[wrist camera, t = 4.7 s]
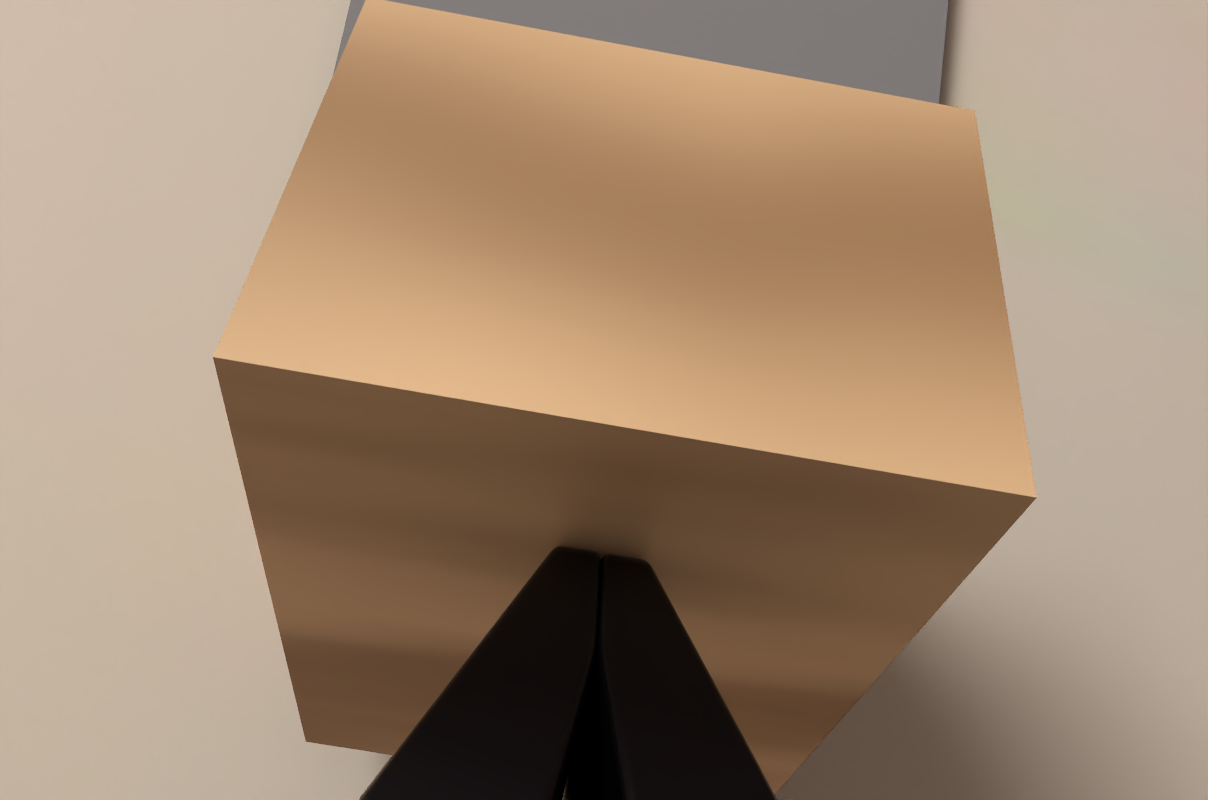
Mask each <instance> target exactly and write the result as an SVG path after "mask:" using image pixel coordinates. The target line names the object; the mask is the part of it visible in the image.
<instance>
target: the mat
mask: <svg viewBox="0 0 1208 800" xmlns="http://www.w3.org/2000/svg"><path fill="white" fill-rule="evenodd" d="M386 1H391V2H396V3H402V4H407V5H413V6H418V7H423V8H429V9H434V10H439V11H445V12H450V13H455V14H461V15H466V16H471V17H477V18H482V19H487V20H493V21H498V22H503V23H509V24H514V25H519V26H525V27H530V28H536V29H541V30H546V31H552V32H557V33H562V34H568V35H573V36H578V37H584V38H589V39H594V40H600V41H605V42H610V43H616V44H621V45H626V46H632V47H637V48H642V49H648V50H653V51H659V52H664V53H669V54H675V55H680V56H685V57H691V58H696V59H701V60H707V61H712V62H717V63H723V64H728V65H733V66H739V67H744V68H749V69H755V70H760V71H766V72H771V73H776V74H782V75H787V76H792V77H798V78H803V79H808V80H814V81H819V82H824V83H830V84H835V85H840V86H846V87H851V88H856V89H862V90H867V91H872V92H878V93H883V94H889V95H894V96H899V97H905V98H910V99H915V100H921V101H926V102H931V103H937V104H939V97H940V86H941V75H942V65H943V54H944V43H945V32H946V22H947V11H948V0H386ZM364 2H365V0H351V2H350V6H349V11H348V15H347V19H346V23H345V28H344V32H343V36H342V40H341V44H340V49H339V53H338V57H337V61H336V66H335V70H336V68H337V66H338V63H339V61H340V59H341V56H342V54H343V52H344V49H345V47H346V45H347V42H348V40H349V38H350V35H351V33H352V31H353V28H354V26H355V24H356V21H357V19H358V17H359V14H360V12H361V10H362V7H363V5H364ZM335 70H334V73H335ZM333 75H334V74H333Z"/></svg>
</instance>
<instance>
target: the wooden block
mask: <svg viewBox="0 0 1208 800" xmlns="http://www.w3.org/2000/svg"><path fill="white" fill-rule="evenodd" d="M213 359H214V363H215V367H216V371H217V375H218V379H219V384H220V388H221V392H222V396H223V400H224V404H225V408H226V413H227V417H228V421H229V425H230V429H231V433H232V437H233V441H234V446H235V450H236V454H237V458H238V462H239V466H240V470H241V475H242V479H243V483H244V487H245V491H246V495H247V499H248V504H249V508H250V512H251V516H252V520H253V524H254V528H255V532H256V537H257V541H258V545H259V549H260V553H261V557H262V561H263V566H264V570H265V574H266V578H267V582H268V586H269V590H270V594H271V599H272V603H273V607H274V611H275V615H276V619H277V623H278V628H279V632H280V636H281V640H282V644H283V648H284V652H285V657H286V661H287V665H288V669H289V673H290V677H291V681H292V685H293V690H294V694H295V698H296V702H297V706H298V710H299V714H300V719H301V723H302V727H303V731H304V735H305V739H306V742H312V743H319V744H325V745H332V746H338V747H345V748H351V749H358V750H364V751H370V752H377V753H383V754H390V755H393V754H394V753H395V752H396V750H397V749H398V748H399V746H400V745H401V744H402V743H403V741H404V740H405V739H406V737H407V736H408V735H409V734H410V732H411V731H412V730H413V728H414V727H415V726H416V725H417V723H418V722H419V721H420V719H421V718H422V717H423V715H424V714H425V713H426V712H427V710H428V709H429V708H430V706H431V705H432V704H433V703H434V701H435V700H436V699H437V697H438V696H439V695H440V694H441V692H442V691H443V690H444V688H445V687H446V686H447V684H448V683H449V682H450V681H451V679H452V678H453V677H454V675H455V674H456V673H457V672H458V670H459V669H460V668H461V666H462V665H463V664H464V663H465V661H466V660H467V659H468V657H469V656H470V655H471V654H472V652H473V651H474V650H475V648H476V647H477V646H478V644H479V643H480V642H481V641H482V639H483V638H484V637H485V635H486V634H487V633H488V632H489V630H490V629H491V628H492V626H493V625H494V624H495V623H496V621H497V620H498V619H499V617H500V616H501V615H502V613H503V612H504V611H505V610H506V608H507V607H508V606H509V604H510V603H511V602H512V601H513V599H514V598H515V597H516V595H517V594H518V593H519V592H520V590H521V589H522V588H523V586H524V585H525V584H526V582H527V581H528V580H529V579H530V577H531V576H532V575H533V573H534V572H535V571H536V570H537V568H538V567H539V566H540V564H541V563H542V562H543V561H544V559H545V558H546V557H547V555H548V554H549V553H550V552H551V551H552V550H553V549H554V548H555V547H558V546H564V547H570V548H576V549H582V550H588V551H594V552H596V553H597V554H598V555H599V556H600V559H602V558H603V557H604V556H605V555H608V554H612V555H618V556H624V557H630V558H636V559H642V560H645V561H647V562H648V563H649V564H650V565H651V566H652V568H653V570H654V572H655V574H656V575H657V577H658V579H659V581H660V583H661V585H662V586H663V588H664V590H665V592H666V594H667V596H668V598H669V599H670V601H671V603H672V605H673V607H674V609H675V611H676V612H677V614H678V616H679V618H680V620H681V622H682V624H683V625H684V627H685V629H686V631H687V633H688V635H689V637H690V638H691V640H692V642H693V644H694V646H695V648H696V650H697V651H698V653H699V655H700V657H701V659H702V661H703V662H704V664H705V666H706V668H707V670H708V672H709V674H710V675H711V677H712V679H713V681H714V683H715V685H716V687H717V688H718V690H719V692H720V694H721V696H722V698H723V700H724V701H725V703H726V705H727V707H728V709H729V711H730V713H731V714H732V716H733V718H734V720H735V722H736V724H737V726H738V727H739V729H740V731H741V733H742V735H743V737H744V738H745V740H746V742H747V744H748V746H749V748H750V750H751V751H752V753H753V755H754V757H755V759H756V761H757V763H758V764H759V766H760V768H761V770H762V772H763V774H764V776H765V777H766V779H767V781H768V783H769V785H770V787H771V789H772V790H773V792H774V794H776V793H777V791H778V790H779V789H780V788H781V787H782V786H783V785H784V783H785V782H786V781H787V780H788V779H789V778H790V777H791V776H792V774H793V773H794V772H795V771H796V770H797V769H798V768H799V766H800V765H801V764H802V763H803V762H804V761H805V760H806V759H807V757H808V756H809V755H810V754H811V753H812V752H813V751H814V749H815V748H816V747H817V746H818V745H819V744H820V743H821V742H822V740H823V739H824V738H825V737H826V736H827V735H828V734H829V732H830V731H831V730H832V729H833V728H834V727H835V726H836V725H837V723H838V722H839V721H840V720H841V719H842V718H843V717H844V715H845V714H846V713H847V712H848V711H849V710H850V709H851V707H852V706H853V705H854V704H855V703H856V702H857V701H858V700H859V698H860V697H861V696H862V695H863V694H864V693H865V692H866V690H867V689H868V688H869V687H870V686H871V685H872V684H873V683H874V681H875V680H876V679H877V678H878V677H879V676H880V675H881V673H882V672H883V671H884V670H885V669H886V668H887V667H888V666H889V664H890V663H891V662H892V661H893V660H894V659H895V658H896V656H897V655H898V654H899V653H900V652H901V651H902V650H903V649H904V647H905V646H906V645H907V644H908V643H909V642H910V641H911V639H912V638H913V637H914V636H915V635H916V634H917V633H918V631H919V630H920V629H921V628H922V627H923V626H924V625H925V624H926V622H927V621H928V620H929V619H930V618H931V617H932V616H933V614H934V613H935V612H936V611H937V610H938V609H939V608H940V607H941V605H942V604H943V603H944V602H945V601H946V600H947V599H948V597H949V596H950V595H951V594H952V593H953V592H954V591H955V590H956V588H957V587H958V586H959V585H960V584H961V583H962V582H963V580H964V579H965V578H966V577H967V576H968V575H969V574H970V573H971V571H972V570H973V569H974V568H975V567H976V566H977V565H978V563H979V562H980V561H981V560H982V559H983V558H984V557H985V556H986V554H987V553H988V552H989V551H990V550H991V549H992V548H993V546H994V545H995V544H996V543H997V542H998V541H999V540H1000V538H1001V537H1002V536H1003V535H1004V534H1005V533H1006V532H1007V531H1008V529H1009V528H1010V527H1011V526H1012V525H1013V524H1014V523H1015V521H1016V520H1017V519H1018V518H1019V517H1020V516H1021V515H1022V514H1023V512H1024V511H1025V510H1026V509H1027V508H1028V507H1029V506H1030V504H1031V503H1032V502H1033V501H1034V500H1035V499H1036V498H1037V497H1036V491H1035V484H1034V478H1033V472H1032V466H1031V459H1030V453H1029V447H1028V441H1027V434H1026V428H1025V422H1024V416H1023V409H1022V403H1021V397H1020V391H1019V384H1018V378H1017V372H1016V365H1015V359H1014V353H1013V347H1012V340H1011V334H1010V328H1009V322H1008V315H1007V309H1006V303H1005V297H1004V290H1003V284H1002V278H1001V272H1000V265H999V259H998V253H997V247H996V240H995V234H994V228H993V222H992V215H991V209H990V203H989V197H988V190H987V184H986V178H985V171H984V165H983V159H982V153H981V146H980V140H979V134H978V128H977V121H976V115H975V111H974V110H969V109H963V108H958V107H953V106H947V105H942V104H937V103H931V102H926V101H921V100H915V99H910V98H905V97H899V96H894V95H889V94H883V93H878V92H872V91H867V90H862V89H856V88H851V87H846V86H840V85H835V84H830V83H824V82H819V81H814V80H808V79H803V78H798V77H792V76H787V75H782V74H776V73H771V72H766V71H760V70H755V69H749V68H744V67H739V66H733V65H728V64H723V63H717V62H712V61H707V60H701V59H696V58H691V57H685V56H680V55H675V54H669V53H664V52H659V51H653V50H648V49H642V48H637V47H632V46H626V45H621V44H616V43H610V42H605V41H600V40H594V39H589V38H584V37H578V36H573V35H568V34H562V33H557V32H552V31H546V30H541V29H536V28H530V27H525V26H519V25H514V24H509V23H503V22H498V21H493V20H487V19H482V18H477V17H471V16H466V15H461V14H455V13H450V12H445V11H439V10H434V9H429V8H423V7H418V6H413V5H407V4H402V3H396V2H391V1H386V0H365V2H364V5H363V7H362V10H361V12H360V14H359V17H358V19H357V21H356V24H355V26H354V28H353V31H352V33H351V35H350V38H349V40H348V42H347V45H346V47H345V49H344V52H343V54H342V56H341V59H340V61H339V63H338V66H337V68H336V70H335V73H334V75H333V77H332V80H331V82H330V84H329V87H328V89H327V91H326V94H325V96H324V98H323V101H322V103H321V106H320V108H319V110H318V113H317V115H316V117H315V120H314V122H313V124H312V127H311V129H310V131H309V134H308V136H307V138H306V141H305V143H304V145H303V148H302V150H301V152H300V155H299V157H298V159H297V162H296V164H295V166H294V169H293V171H292V173H291V176H290V178H289V180H288V183H287V185H286V187H285V190H284V192H283V194H282V197H281V199H280V201H279V204H278V206H277V209H276V211H275V213H274V216H273V218H272V220H271V223H270V225H269V227H268V230H267V232H266V234H265V237H264V239H263V241H262V244H261V246H260V248H259V251H258V253H257V255H256V258H255V260H254V262H253V265H252V267H251V269H250V272H249V274H248V276H247V279H246V281H245V283H244V286H243V288H242V290H241V293H240V295H239V297H238V300H237V302H236V305H235V307H234V309H233V312H232V314H231V316H230V319H229V321H228V323H227V326H226V328H225V330H224V333H223V335H222V337H221V340H220V342H219V344H218V347H217V349H216V351H215V354H214V356H213Z"/></svg>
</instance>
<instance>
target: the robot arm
mask: <svg viewBox="0 0 1208 800" xmlns="http://www.w3.org/2000/svg"><path fill="white" fill-rule="evenodd" d="M564 789H565V791H564ZM563 793H564V800H777V798H776V796H775V794H774V792H773V790H772V789H771V787H770V785H769V783H768V781H767V779H766V777H765V776H764V774H763V772H762V770H761V768H760V766H759V764H758V763H757V761H756V759H755V757H754V755H753V753H752V751H751V750H750V748H749V746H748V744H747V742H746V740H745V738H744V737H743V735H742V733H741V731H740V729H739V727H738V726H737V724H736V722H735V720H734V718H733V716H732V714H731V713H730V711H729V709H728V707H727V705H726V703H725V701H724V700H723V698H722V696H721V694H720V692H719V690H718V688H717V687H716V685H715V683H714V681H713V679H712V677H711V675H710V674H709V672H708V670H707V668H706V666H705V664H704V662H703V661H702V659H701V657H700V655H699V653H698V651H697V650H696V648H695V646H694V644H693V642H692V640H691V638H690V637H689V635H688V633H687V631H686V629H685V627H684V625H683V624H682V622H681V620H680V618H679V616H678V614H677V612H676V611H675V609H674V607H673V605H672V603H671V601H670V599H669V598H668V596H667V594H666V592H665V590H664V588H663V586H662V585H661V583H660V581H659V579H658V577H657V575H656V574H655V572H654V570H653V568H652V566H651V565H650V564H649V563H648V562H647V561H645V560H642V559H636V558H630V557H624V556H618V555H612V554H608V555H605V556H604V557H603V558H602V559H600V556H599V555H598V554H597V553H596V552H594V551H588V550H582V549H576V548H570V547H564V546H558V547H555V548H554V549H553V550H552V551H551V552H550V553H549V554H548V555H547V557H546V558H545V559H544V561H543V562H542V563H541V564H540V566H539V567H538V568H537V570H536V571H535V572H534V573H533V575H532V576H531V577H530V579H529V580H528V581H527V582H526V584H525V585H524V586H523V588H522V589H521V590H520V592H519V593H518V594H517V595H516V597H515V598H514V599H513V601H512V602H511V603H510V604H509V606H508V607H507V608H506V610H505V611H504V612H503V613H502V615H501V616H500V617H499V619H498V620H497V621H496V623H495V624H494V625H493V626H492V628H491V629H490V630H489V632H488V633H487V634H486V635H485V637H484V638H483V639H482V641H481V642H480V643H479V644H478V646H477V647H476V648H475V650H474V651H473V652H472V654H471V655H470V656H469V657H468V659H467V660H466V661H465V663H464V664H463V665H462V666H461V668H460V669H459V670H458V672H457V673H456V674H455V675H454V677H453V678H452V679H451V681H450V682H449V683H448V684H447V686H446V687H445V688H444V690H443V691H442V692H441V694H440V695H439V696H438V697H437V699H436V700H435V701H434V703H433V704H432V705H431V706H430V708H429V709H428V710H427V712H426V713H425V714H424V715H423V717H422V718H421V719H420V721H419V722H418V723H417V725H416V726H415V727H414V728H413V730H412V731H411V732H410V734H409V735H408V736H407V737H406V739H405V740H404V741H403V743H402V744H401V745H400V746H399V748H398V749H397V750H396V752H395V753H394V754H393V756H392V757H391V758H390V759H389V761H388V762H387V763H386V765H385V766H384V767H383V768H382V770H381V771H380V772H379V774H378V775H377V776H376V777H375V779H374V780H373V781H372V783H371V784H370V785H369V787H368V788H367V789H366V790H365V792H364V793H363V794H362V796H361V797H360V799H359V800H562V798H563Z"/></svg>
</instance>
